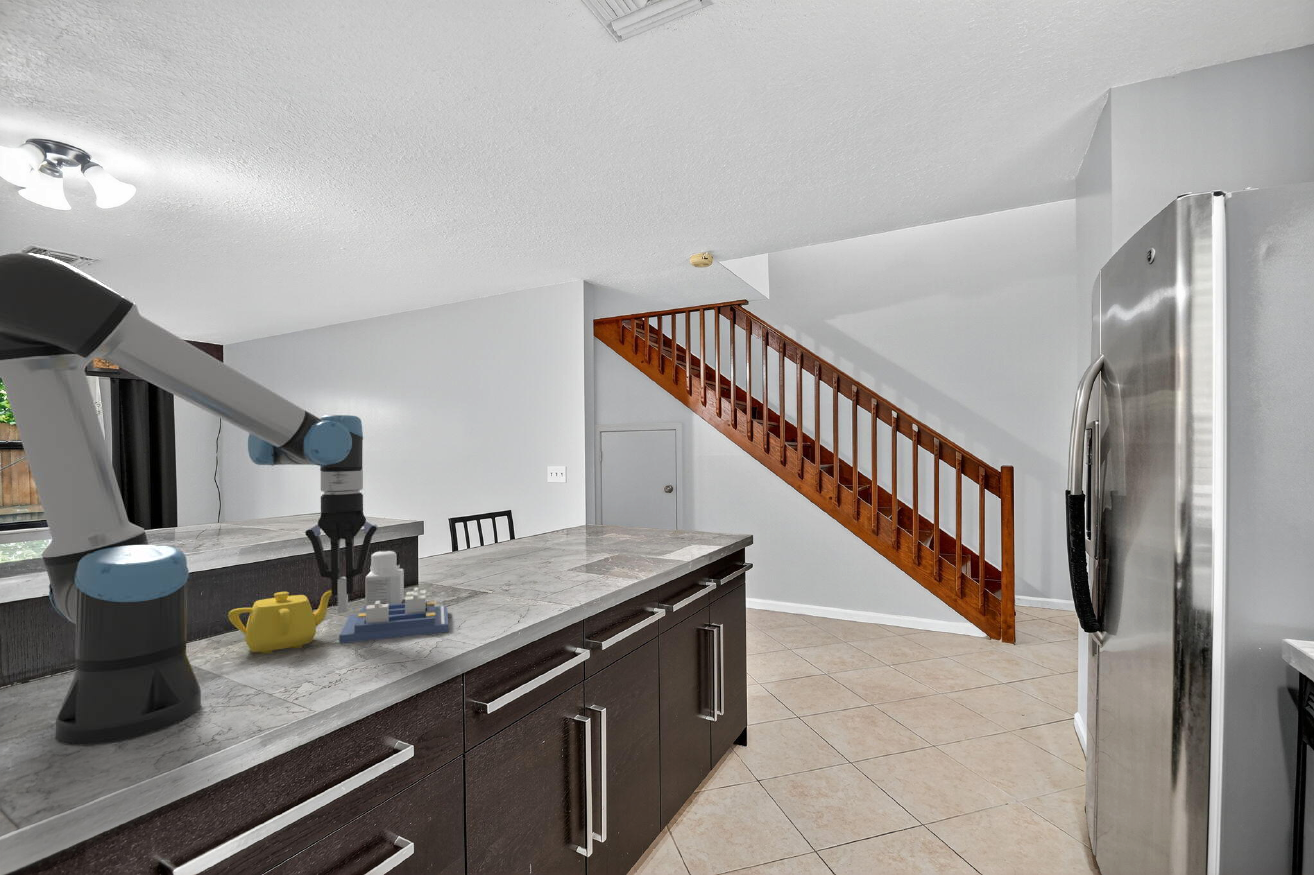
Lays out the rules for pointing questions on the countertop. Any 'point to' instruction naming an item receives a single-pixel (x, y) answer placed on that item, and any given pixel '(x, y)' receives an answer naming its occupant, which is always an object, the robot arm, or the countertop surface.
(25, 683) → the countertop surface
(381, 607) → the grey studded block
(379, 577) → the container
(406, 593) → the grey studded block
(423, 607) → the gray studded block
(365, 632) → the blue divided tray
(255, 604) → the teapot
